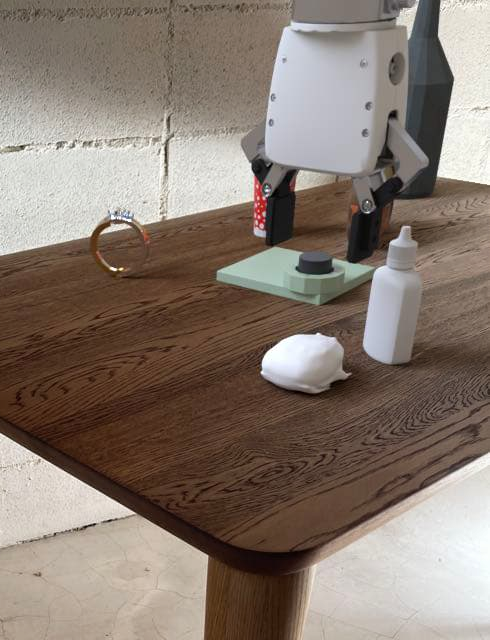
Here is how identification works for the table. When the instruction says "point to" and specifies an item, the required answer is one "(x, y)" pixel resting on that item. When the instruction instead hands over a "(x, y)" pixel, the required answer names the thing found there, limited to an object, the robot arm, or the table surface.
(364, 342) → the eye dropper bottle
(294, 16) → the robot arm
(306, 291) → the scale
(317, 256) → the button
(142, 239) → the ring
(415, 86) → the bottle
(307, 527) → the table surface
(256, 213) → the beverage cup
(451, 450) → the table surface
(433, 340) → the table surface
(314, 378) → the garlic
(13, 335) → the table surface
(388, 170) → the tin
